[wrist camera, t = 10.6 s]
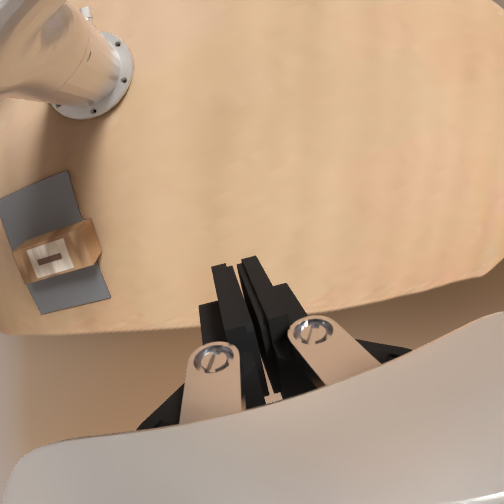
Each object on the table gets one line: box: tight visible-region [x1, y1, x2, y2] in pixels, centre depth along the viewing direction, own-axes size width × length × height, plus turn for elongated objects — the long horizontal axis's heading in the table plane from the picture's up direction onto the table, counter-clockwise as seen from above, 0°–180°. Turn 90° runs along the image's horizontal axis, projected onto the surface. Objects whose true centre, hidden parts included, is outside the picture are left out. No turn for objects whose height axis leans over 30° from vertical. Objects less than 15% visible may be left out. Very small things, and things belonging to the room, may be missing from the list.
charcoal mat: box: [0, 170, 111, 314], centre depth 39 cm, size 20×14×1 cm
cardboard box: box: [12, 218, 102, 284], centre depth 37 cm, size 5×5×12 cm
